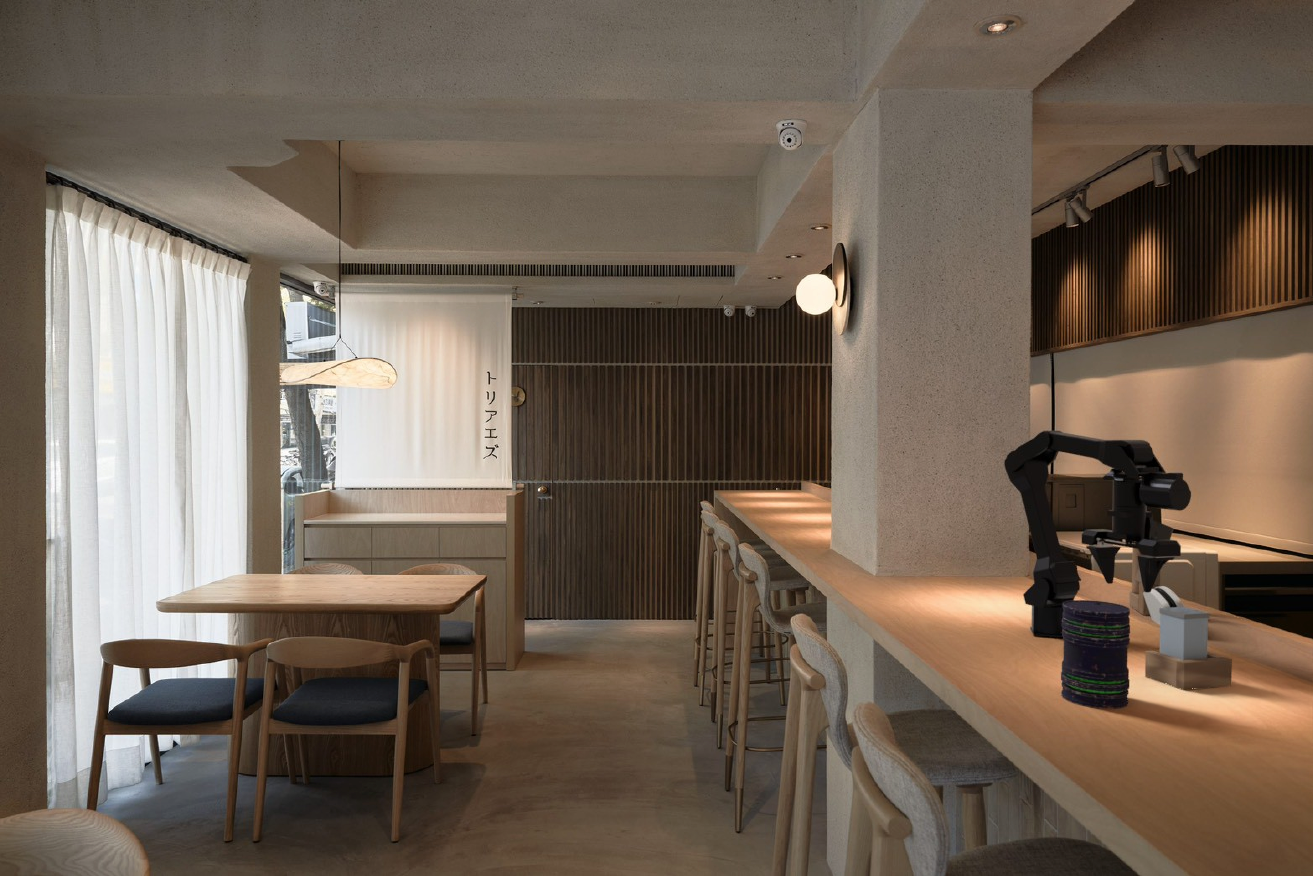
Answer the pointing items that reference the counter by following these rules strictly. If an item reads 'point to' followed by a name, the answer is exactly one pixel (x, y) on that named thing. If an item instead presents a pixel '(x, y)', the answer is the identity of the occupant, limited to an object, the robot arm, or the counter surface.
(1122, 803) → the counter surface
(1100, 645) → the storage jar
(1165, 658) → the block
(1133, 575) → the wooden block
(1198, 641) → the rail post
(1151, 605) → the hinge
